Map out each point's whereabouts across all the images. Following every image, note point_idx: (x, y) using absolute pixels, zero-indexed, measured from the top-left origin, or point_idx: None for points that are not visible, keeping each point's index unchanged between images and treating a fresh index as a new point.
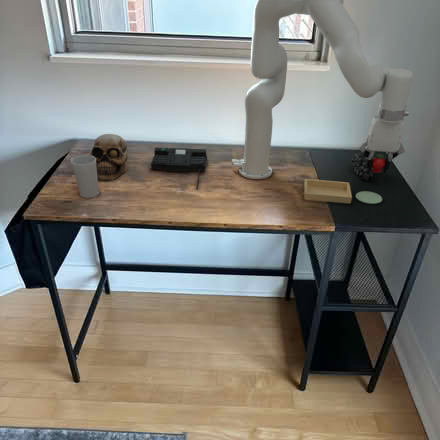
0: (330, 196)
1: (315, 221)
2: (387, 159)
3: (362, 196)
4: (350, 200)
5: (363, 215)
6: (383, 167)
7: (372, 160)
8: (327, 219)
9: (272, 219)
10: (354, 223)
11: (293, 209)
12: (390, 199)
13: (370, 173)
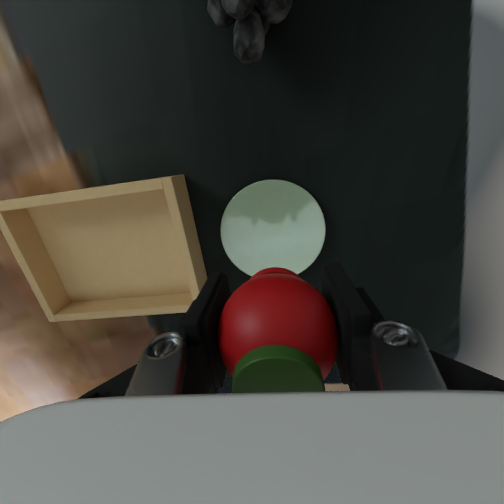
0: (132, 314)
1: None
2: (359, 384)
3: (247, 235)
4: None
5: None
6: (326, 295)
7: (217, 385)
8: None
9: (48, 402)
10: None
11: (68, 354)
12: (362, 210)
13: (272, 11)
